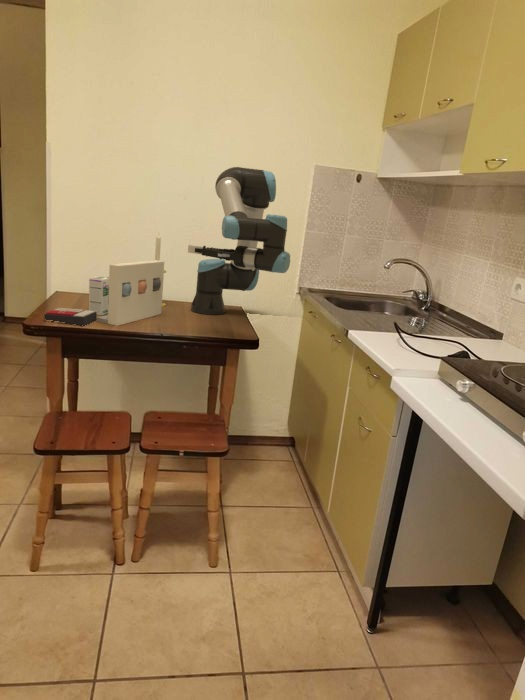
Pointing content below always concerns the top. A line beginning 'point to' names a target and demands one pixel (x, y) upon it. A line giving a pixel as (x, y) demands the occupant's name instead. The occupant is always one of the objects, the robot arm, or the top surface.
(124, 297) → the control panel
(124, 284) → the slate blue button
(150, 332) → the top surface
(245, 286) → the robot arm
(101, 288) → the syrup box
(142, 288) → the terracotta button
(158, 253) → the candle
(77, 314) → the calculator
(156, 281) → the charcoal button
